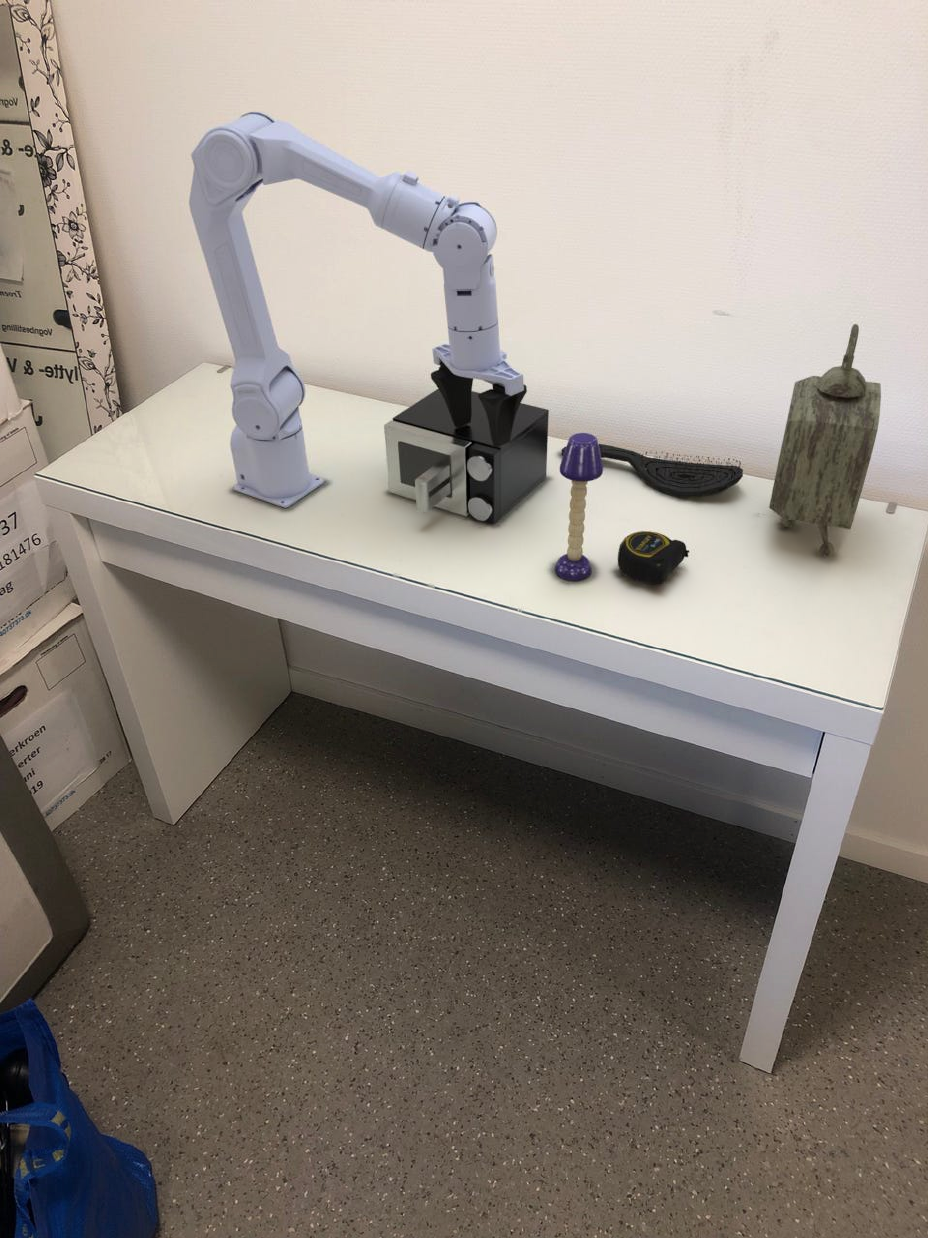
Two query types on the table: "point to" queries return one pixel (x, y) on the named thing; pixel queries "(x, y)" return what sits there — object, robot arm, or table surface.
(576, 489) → the toy lamp
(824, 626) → the table surface
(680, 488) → the hairbrush
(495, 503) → the microwave
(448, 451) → the microwave door
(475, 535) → the table surface
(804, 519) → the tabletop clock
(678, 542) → the tape measure
